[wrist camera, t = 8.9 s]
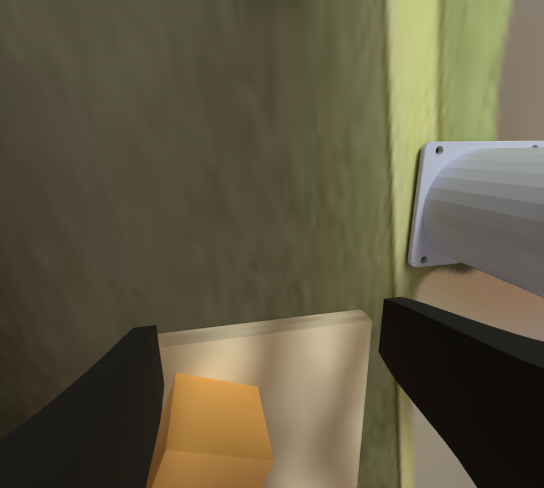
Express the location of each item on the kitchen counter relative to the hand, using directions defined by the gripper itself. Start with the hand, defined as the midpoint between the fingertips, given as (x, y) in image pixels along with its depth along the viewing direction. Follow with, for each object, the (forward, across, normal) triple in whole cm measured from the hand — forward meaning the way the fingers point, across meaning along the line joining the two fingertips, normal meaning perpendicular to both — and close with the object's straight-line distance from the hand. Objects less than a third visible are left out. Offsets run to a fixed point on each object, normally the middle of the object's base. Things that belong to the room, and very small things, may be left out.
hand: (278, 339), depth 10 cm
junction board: (+9, 0, +12) cm, 16 cm away
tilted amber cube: (+8, +3, +10) cm, 13 cm away
